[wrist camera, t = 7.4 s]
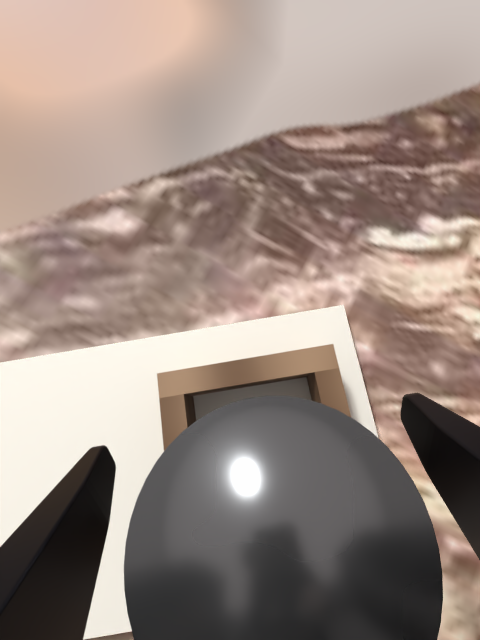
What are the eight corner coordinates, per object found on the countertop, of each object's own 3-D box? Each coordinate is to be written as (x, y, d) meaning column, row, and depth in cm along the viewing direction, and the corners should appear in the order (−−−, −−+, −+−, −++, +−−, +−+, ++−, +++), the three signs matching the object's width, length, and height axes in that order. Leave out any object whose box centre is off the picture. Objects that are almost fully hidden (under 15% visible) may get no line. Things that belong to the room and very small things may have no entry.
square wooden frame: (322, 352, 18) (333, 343, 16) (363, 526, 16) (383, 547, 13) (169, 378, 18) (156, 373, 16) (187, 556, 16) (175, 582, 13)
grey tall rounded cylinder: (319, 452, 17) (512, 579, 4) (257, 514, 16) (270, 872, 4) (262, 388, 18) (285, 339, 5) (201, 443, 17) (64, 537, 5)
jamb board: (339, 309, 20) (343, 304, 19) (407, 572, 16) (416, 583, 15) (-28, 371, 20) (-42, 369, 19) (-46, 649, 16) (-65, 664, 15)
